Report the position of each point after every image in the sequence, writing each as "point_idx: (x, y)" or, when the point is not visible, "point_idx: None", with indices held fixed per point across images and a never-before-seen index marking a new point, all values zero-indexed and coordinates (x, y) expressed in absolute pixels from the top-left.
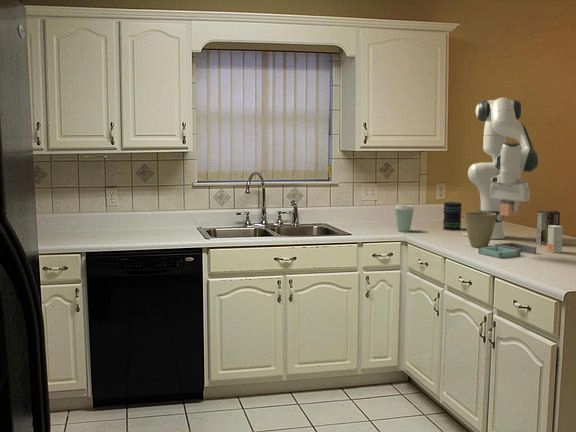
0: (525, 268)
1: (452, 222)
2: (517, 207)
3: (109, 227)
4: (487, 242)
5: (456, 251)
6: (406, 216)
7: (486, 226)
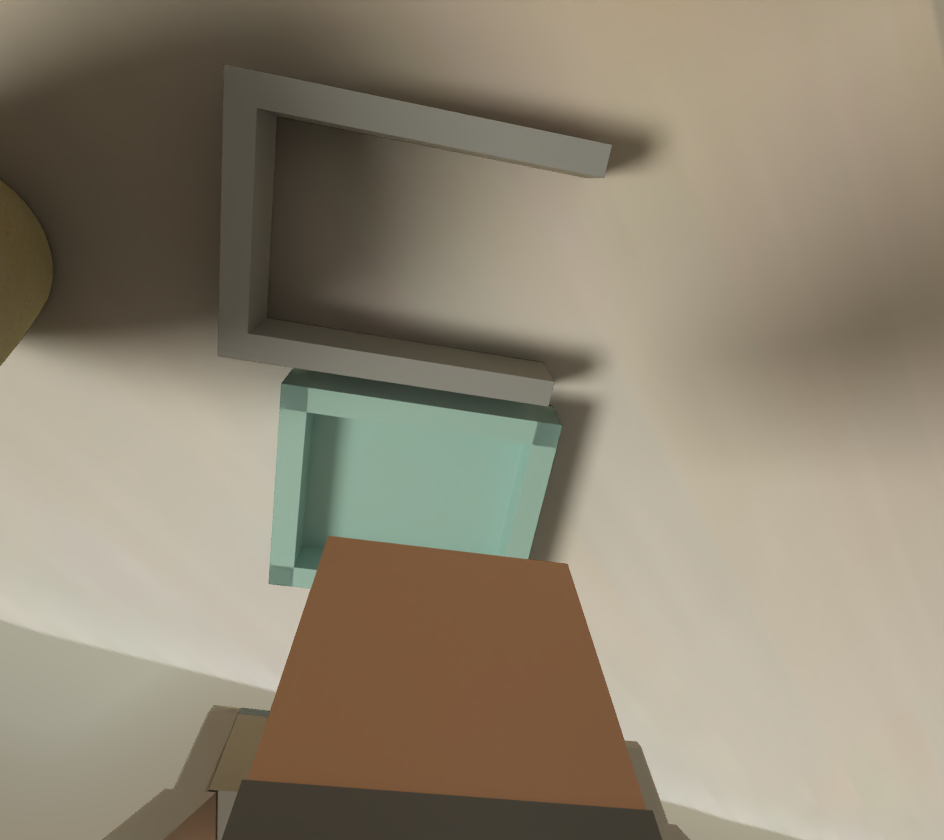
0: (795, 706)
1: None
2: (664, 812)
3: None
4: (36, 256)
5: (111, 604)
6: None
7: None
